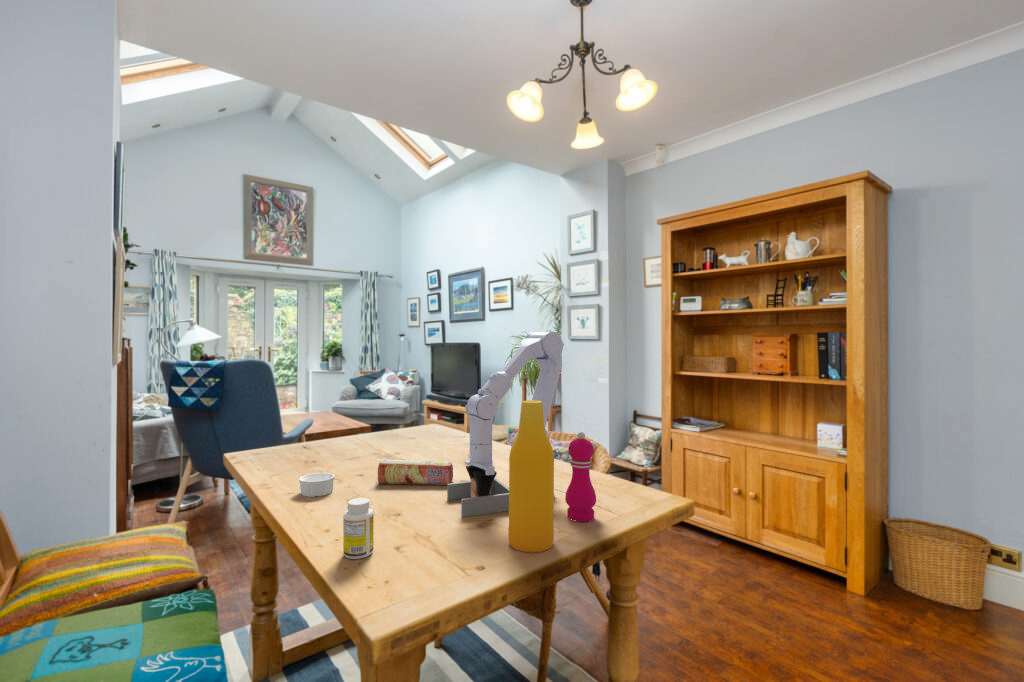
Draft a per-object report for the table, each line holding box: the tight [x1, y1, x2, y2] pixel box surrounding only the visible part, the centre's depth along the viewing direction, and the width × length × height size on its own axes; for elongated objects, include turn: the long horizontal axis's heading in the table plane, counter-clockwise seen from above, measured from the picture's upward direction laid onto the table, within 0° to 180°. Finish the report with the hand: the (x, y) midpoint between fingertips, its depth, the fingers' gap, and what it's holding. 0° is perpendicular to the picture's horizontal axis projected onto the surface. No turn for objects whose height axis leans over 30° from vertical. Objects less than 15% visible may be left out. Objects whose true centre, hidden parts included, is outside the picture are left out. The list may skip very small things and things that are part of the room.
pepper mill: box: [564, 431, 597, 522], centre depth 113 cm, size 7×7×20 cm
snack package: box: [377, 458, 454, 486], centre depth 140 cm, size 21×7×7 cm, turn 89°
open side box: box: [446, 477, 509, 518], centre depth 122 cm, size 14×14×4 cm
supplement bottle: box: [342, 497, 375, 560], centre depth 93 cm, size 6×6×10 cm
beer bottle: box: [507, 399, 555, 553], centre depth 98 cm, size 9×9×29 cm
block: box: [470, 477, 491, 498], centre depth 122 cm, size 4×4×6 cm
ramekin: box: [298, 472, 336, 498], centre depth 130 cm, size 9×9×4 cm
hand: (480, 496), depth 122 cm, fingers closed on block, 4 cm apart
